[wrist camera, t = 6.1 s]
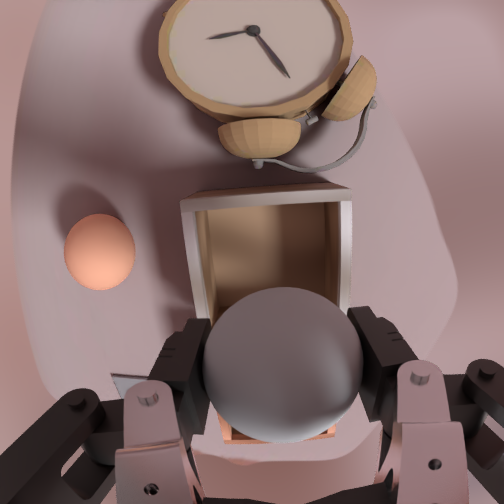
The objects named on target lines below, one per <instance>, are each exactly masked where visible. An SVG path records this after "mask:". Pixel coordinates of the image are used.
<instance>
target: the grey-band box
mask: <svg viewBox="0 0 504 504" xmlns="http://www.w3.org/2000/svg"><path fill="white" fill-rule="evenodd" d="M179 202H180V210H181V218H182V226H183V233H184V240H185V247H186V254H187V261H188V267H189V274H190V280H191V286H192V292H193V298H194V304H195V310H196V315H197V318H209V319H210V321H211V326H212V329H213V327H214V325H215V324H216V322H217V321H218V320H219V318H220V317H221V316H222V315H223V313H224V312H225V311H227V310H228V309H229V308H230V307H231V306H232V305H234V304H235V303H236V302H238V301H239V300H241V299H242V298H244V297H246V296H248V295H250V294H252V293H255V292H258V291H261V290H265V289H269V288H276V287H292V288H300V289H304V290H308V291H311V292H313V293H316V294H319V295H321V296H323V297H325V298H326V299H328V300H329V301H331V302H332V303H334V304H335V305H336V306H337V307H339V308H340V309H341V310H342V311H343V312H344V313H345V315H346V316H347V310H348V308H350V291H351V265H352V192H351V189H350V188H347V187H344V186H341V185H338V184H334V183H331V182H327V183H304V184H286V185H270V186H256V187H243V188H232V189H221V190H210V191H201V192H196V193H194V194H192V195H190V196H188V197H186V198H185V199H183V200H181V201H179Z"/></svg>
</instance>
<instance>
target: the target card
mask: <svg viewBox="0 0 504 504" xmlns="http://www.w3.org/2000/svg"><path fill="white" fill-rule="evenodd" d="M112 378H113V380H114V382H115V385H116V387H117V389H118V392H119V394H120V396H121V398H122V399H124V396H125V394H126V392H127V391H128V389H129V388H131V387H132V386H133V385H135V384H137V383H139V382H142V381H146V380H147V378H143V377H130V376H119V375H113V376H112Z"/></svg>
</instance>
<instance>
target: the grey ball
mask: <svg viewBox="0 0 504 504" xmlns="http://www.w3.org/2000/svg"><path fill="white" fill-rule="evenodd" d="M363 365H364V359H363V351H362V346H361V342H360V339H359V336H358V334H357V332H356V330H355V328H354V326H353V324H352V323H351V321H350V320H349V319H348V317H347V316H346V315H345V313H344V312H343V311H342V310H341V309H340V308H339V307H337V306H336V305H335V304H334V303H332V302H331V301H329V300H328V299H326V298H325V297H323V296H321V295H319V294H316V293H313V292H311V291H308V290H304V289H300V288H292V287H276V288H269V289H265V290H261V291H258V292H255V293H252V294H250V295H248V296H246V297H244V298H242V299H241V300H239V301H238V302H236V303H235V304H234V305H232V306H231V307H230V308H229V309H228V310H227V311H225V312H224V313H223V315H222V316H221V317H220V318H219V320H218V321H217V322H216V324H215V325H214V327H213V329H212V330H211V332H210V334H209V337H208V339H207V342H206V345H205V349H204V353H203V360H202V372H203V380H204V385H205V388H206V391H207V394H208V397H209V399H210V401H211V402H212V404H213V406H214V408H215V409H216V411H217V412H218V413H219V415H220V416H221V417H222V418H223V419H224V420H225V421H226V422H227V423H228V424H229V425H231V426H232V427H233V428H235V429H236V430H238V431H239V432H241V433H243V434H244V435H247V436H249V437H251V438H254V439H257V440H261V441H265V442H270V443H292V442H298V441H303V440H306V439H309V438H312V437H314V436H317V435H319V434H321V433H322V432H324V431H326V430H327V429H329V428H330V427H332V426H333V425H334V424H336V423H337V422H338V421H339V420H340V419H341V418H342V417H343V416H344V414H345V413H346V412H347V411H348V410H349V408H350V406H351V405H352V403H353V402H354V400H355V398H356V396H357V394H358V391H359V388H360V385H361V381H362V377H363Z"/></svg>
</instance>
